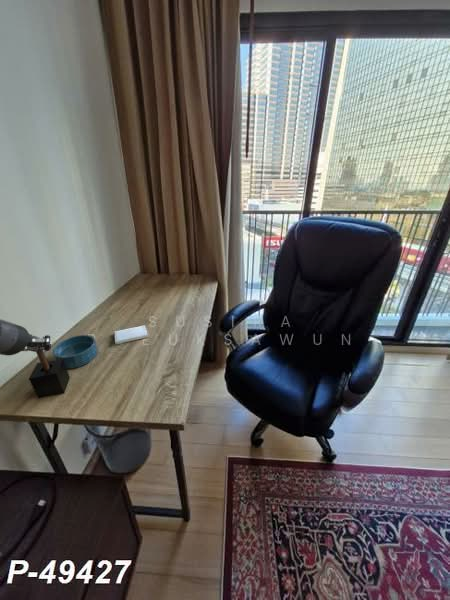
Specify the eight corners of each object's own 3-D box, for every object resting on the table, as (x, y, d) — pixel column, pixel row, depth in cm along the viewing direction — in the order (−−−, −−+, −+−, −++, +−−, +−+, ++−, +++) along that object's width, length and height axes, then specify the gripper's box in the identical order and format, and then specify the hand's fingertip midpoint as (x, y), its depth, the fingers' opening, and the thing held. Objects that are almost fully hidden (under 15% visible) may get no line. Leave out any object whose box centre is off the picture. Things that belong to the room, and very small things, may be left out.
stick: (51, 390, 78) (30, 342, 70) (52, 386, 79) (32, 339, 71) (57, 389, 78) (37, 341, 70) (58, 385, 80) (39, 338, 72)
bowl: (52, 373, 84) (47, 360, 82) (63, 350, 96) (59, 338, 93) (95, 365, 88) (91, 353, 85) (100, 344, 99) (97, 332, 97)
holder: (38, 398, 75) (28, 378, 71) (45, 382, 81) (37, 362, 77) (64, 393, 76) (56, 373, 73) (70, 377, 83) (62, 358, 79)
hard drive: (114, 341, 98) (147, 334, 102) (114, 331, 104) (144, 324, 109) (115, 345, 98) (148, 337, 103) (115, 334, 105) (145, 327, 109)
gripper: (34, 318, 60) (69, 333, 76) (-31, 323, 58) (19, 337, 75) (30, 350, 58) (67, 358, 74) (-38, 356, 56) (16, 363, 72)
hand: (43, 347), depth 74 cm, fingers closed
